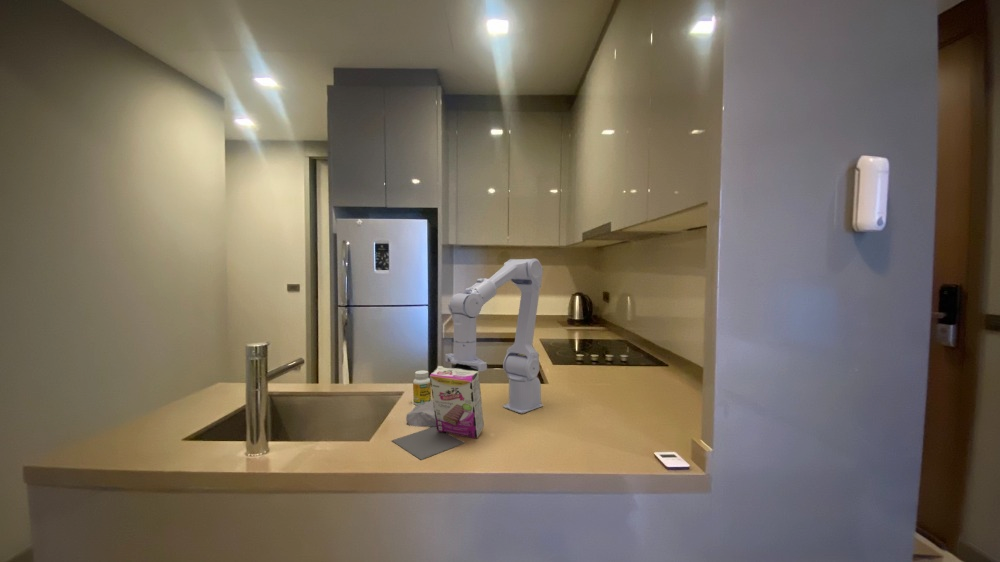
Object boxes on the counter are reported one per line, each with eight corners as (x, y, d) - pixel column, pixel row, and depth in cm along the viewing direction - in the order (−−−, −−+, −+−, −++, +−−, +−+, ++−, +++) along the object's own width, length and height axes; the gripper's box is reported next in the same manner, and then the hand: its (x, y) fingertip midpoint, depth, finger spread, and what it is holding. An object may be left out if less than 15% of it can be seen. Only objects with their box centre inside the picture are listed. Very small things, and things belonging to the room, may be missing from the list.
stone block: (404, 433, 105) (439, 428, 103) (401, 414, 105) (436, 409, 103) (421, 417, 116) (453, 413, 114) (418, 401, 117) (450, 396, 115)
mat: (433, 427, 103) (433, 426, 103) (464, 443, 94) (464, 442, 94) (391, 441, 95) (391, 440, 95) (420, 460, 86) (420, 459, 86)
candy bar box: (436, 432, 99) (428, 375, 94) (445, 420, 104) (437, 364, 99) (477, 440, 96) (471, 381, 91) (484, 426, 100) (479, 369, 95)
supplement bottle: (424, 398, 126) (424, 368, 126) (434, 402, 122) (434, 371, 122) (409, 402, 122) (409, 371, 122) (419, 407, 119) (419, 375, 118)
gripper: (435, 339, 103) (435, 391, 103) (470, 347, 92) (470, 405, 93) (457, 335, 108) (457, 385, 108) (493, 343, 97) (493, 398, 97)
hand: (465, 394), depth 101 cm, fingers closed
